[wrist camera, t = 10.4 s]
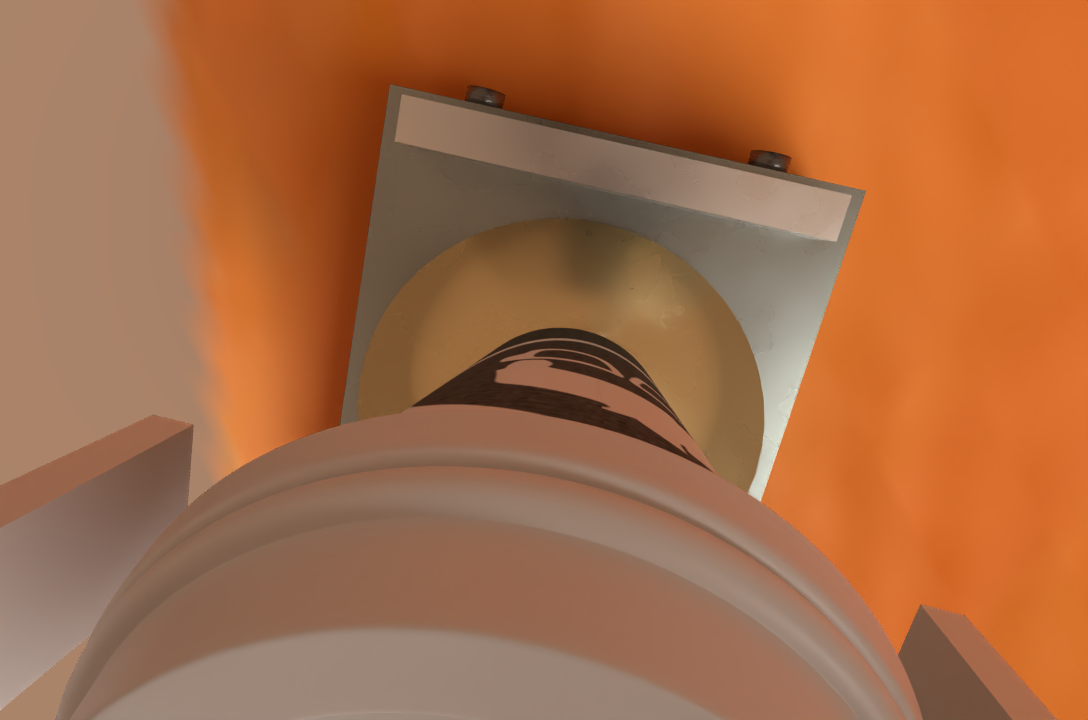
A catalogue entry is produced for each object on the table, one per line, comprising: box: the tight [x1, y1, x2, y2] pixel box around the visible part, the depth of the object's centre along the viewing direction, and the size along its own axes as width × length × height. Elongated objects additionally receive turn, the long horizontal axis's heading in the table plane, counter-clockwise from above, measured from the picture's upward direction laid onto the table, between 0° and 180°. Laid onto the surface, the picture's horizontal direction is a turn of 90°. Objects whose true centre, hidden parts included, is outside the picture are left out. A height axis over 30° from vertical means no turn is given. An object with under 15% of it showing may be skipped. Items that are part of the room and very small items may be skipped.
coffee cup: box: [55, 328, 923, 720], centre depth 12 cm, size 10×10×15 cm
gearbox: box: [340, 84, 866, 501], centre depth 21 cm, size 19×14×6 cm
